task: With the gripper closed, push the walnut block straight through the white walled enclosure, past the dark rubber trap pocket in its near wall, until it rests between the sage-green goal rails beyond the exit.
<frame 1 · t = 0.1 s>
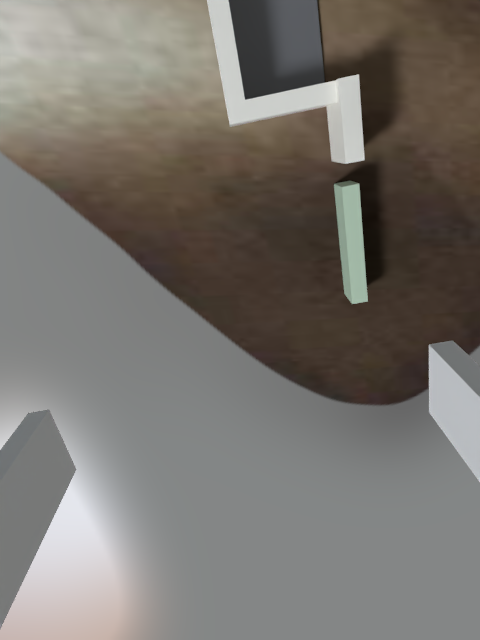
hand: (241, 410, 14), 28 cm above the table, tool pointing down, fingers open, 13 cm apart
goal rails: (419, 226, 40), on the table
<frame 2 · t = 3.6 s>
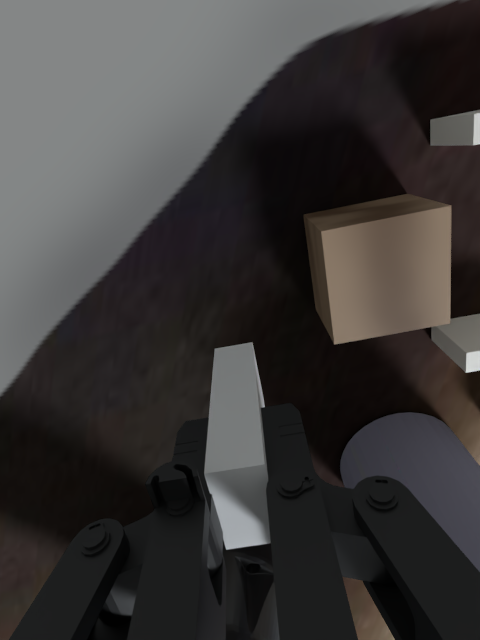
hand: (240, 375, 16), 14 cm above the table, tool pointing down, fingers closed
block: (358, 254, 29), on the table
lavender cylinder: (396, 457, 36), on the table
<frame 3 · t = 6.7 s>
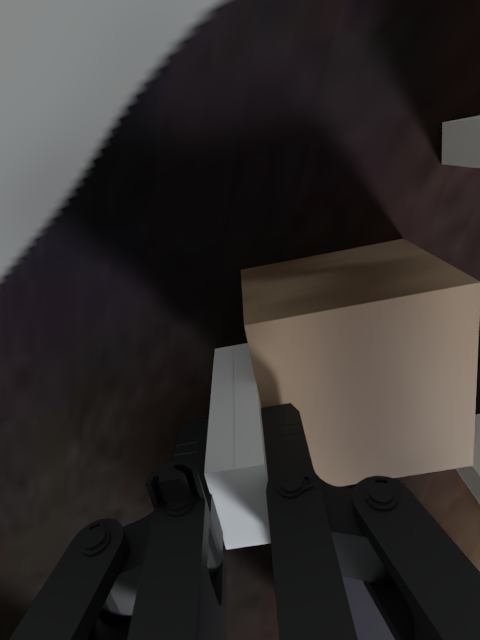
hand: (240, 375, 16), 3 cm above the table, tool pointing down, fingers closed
block: (329, 326, 19), on the table, touching gripper
lavender cylinder: (387, 584, 26), on the table
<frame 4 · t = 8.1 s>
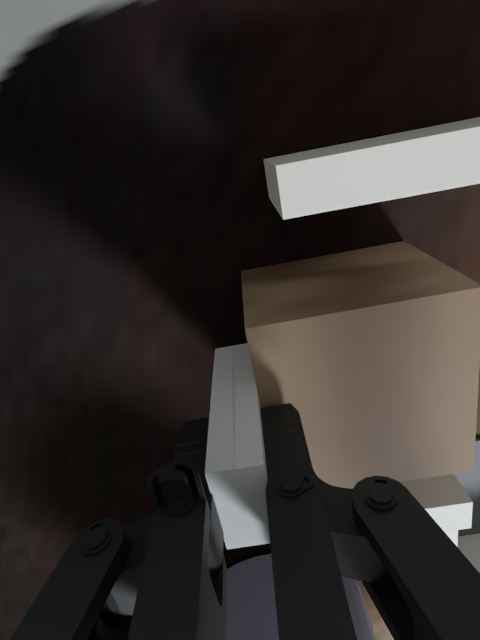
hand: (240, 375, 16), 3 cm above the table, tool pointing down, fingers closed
block: (329, 329, 19), on the table, touching gripper
lavender cylinder: (281, 599, 27), on the table
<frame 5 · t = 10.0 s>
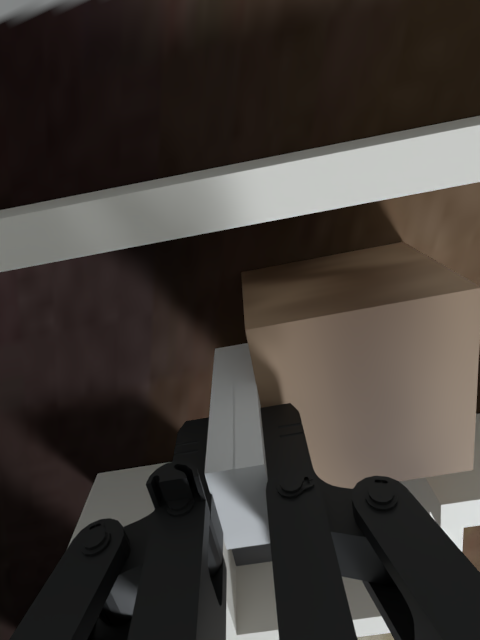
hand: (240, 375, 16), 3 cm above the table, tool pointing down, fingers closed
block: (329, 329, 19), on the table, touching gripper
white walled enclosure: (283, 335, 19), on the table
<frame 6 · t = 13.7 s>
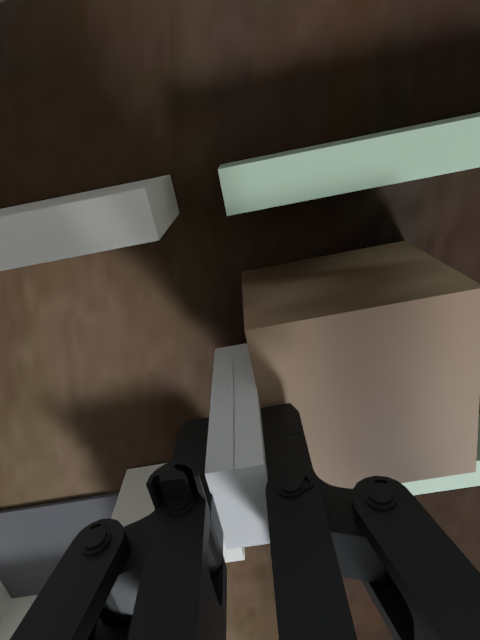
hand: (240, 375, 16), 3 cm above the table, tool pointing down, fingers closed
block: (330, 329, 19), on the table, touching gripper
goal rails: (373, 319, 19), on the table
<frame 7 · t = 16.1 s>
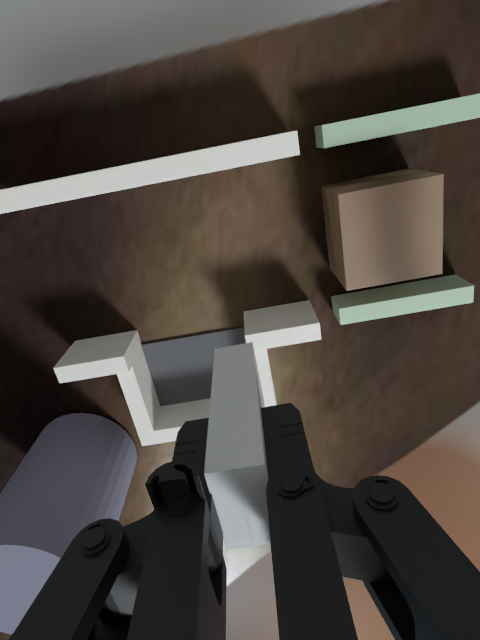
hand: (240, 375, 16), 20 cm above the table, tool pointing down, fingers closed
block: (367, 220, 34), on the table
white walled enclosure: (173, 255, 35), on the table
lavender cylinder: (89, 449, 44), on the table
goal rails: (390, 215, 34), on the table
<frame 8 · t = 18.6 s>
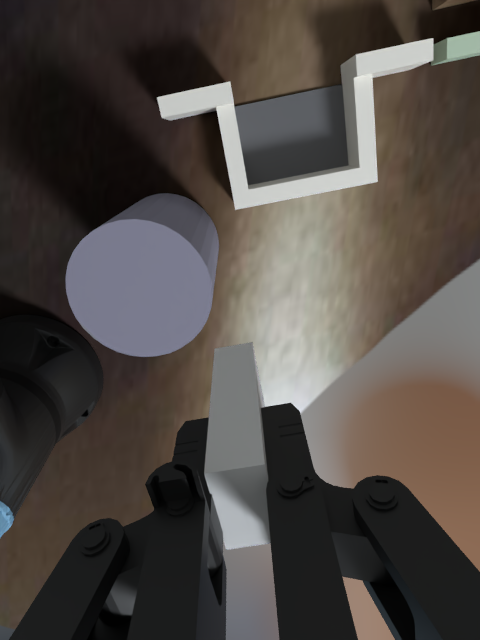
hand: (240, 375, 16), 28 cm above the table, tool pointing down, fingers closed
lavender cylinder: (169, 243, 43), on the table
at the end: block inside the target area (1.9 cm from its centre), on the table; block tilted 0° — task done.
